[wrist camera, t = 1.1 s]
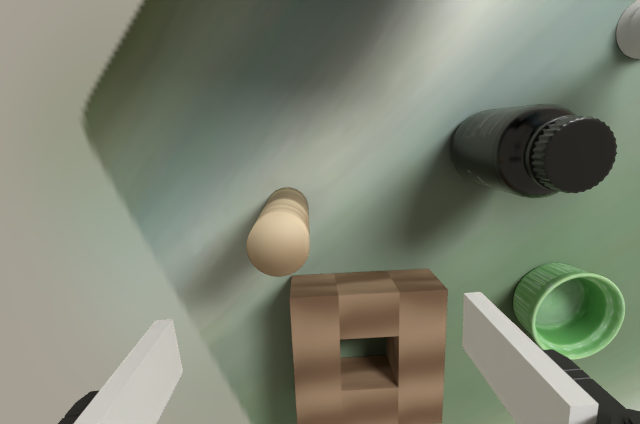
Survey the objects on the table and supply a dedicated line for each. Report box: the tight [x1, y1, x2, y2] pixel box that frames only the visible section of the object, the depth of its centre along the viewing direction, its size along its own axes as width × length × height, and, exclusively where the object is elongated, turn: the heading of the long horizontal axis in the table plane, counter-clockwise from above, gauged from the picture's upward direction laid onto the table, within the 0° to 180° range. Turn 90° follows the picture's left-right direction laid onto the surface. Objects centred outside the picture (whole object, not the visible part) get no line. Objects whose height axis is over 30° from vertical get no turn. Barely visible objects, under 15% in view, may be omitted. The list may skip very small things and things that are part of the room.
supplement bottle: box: [451, 104, 617, 198], centre depth 28 cm, size 7×7×12 cm
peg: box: [246, 188, 310, 277], centre depth 28 cm, size 4×4×12 cm
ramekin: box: [513, 263, 625, 360], centre depth 35 cm, size 9×9×4 cm
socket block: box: [290, 269, 448, 424], centre depth 35 cm, size 14×14×5 cm
